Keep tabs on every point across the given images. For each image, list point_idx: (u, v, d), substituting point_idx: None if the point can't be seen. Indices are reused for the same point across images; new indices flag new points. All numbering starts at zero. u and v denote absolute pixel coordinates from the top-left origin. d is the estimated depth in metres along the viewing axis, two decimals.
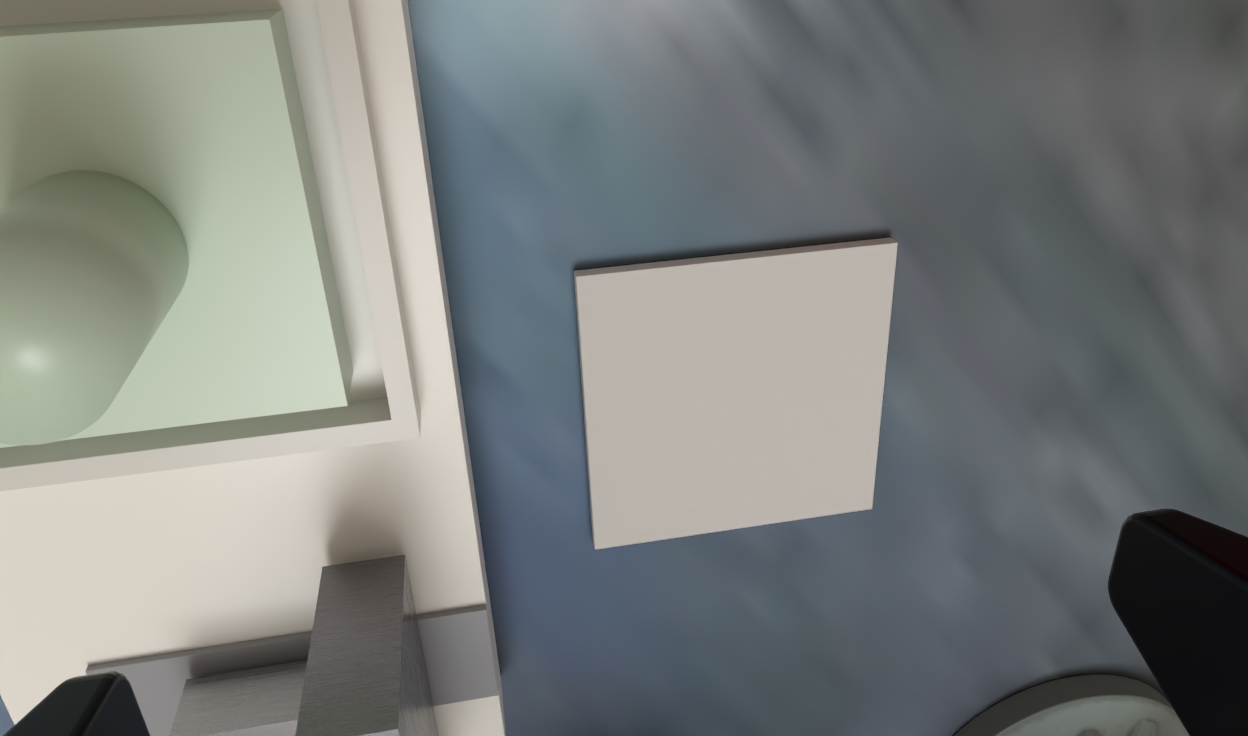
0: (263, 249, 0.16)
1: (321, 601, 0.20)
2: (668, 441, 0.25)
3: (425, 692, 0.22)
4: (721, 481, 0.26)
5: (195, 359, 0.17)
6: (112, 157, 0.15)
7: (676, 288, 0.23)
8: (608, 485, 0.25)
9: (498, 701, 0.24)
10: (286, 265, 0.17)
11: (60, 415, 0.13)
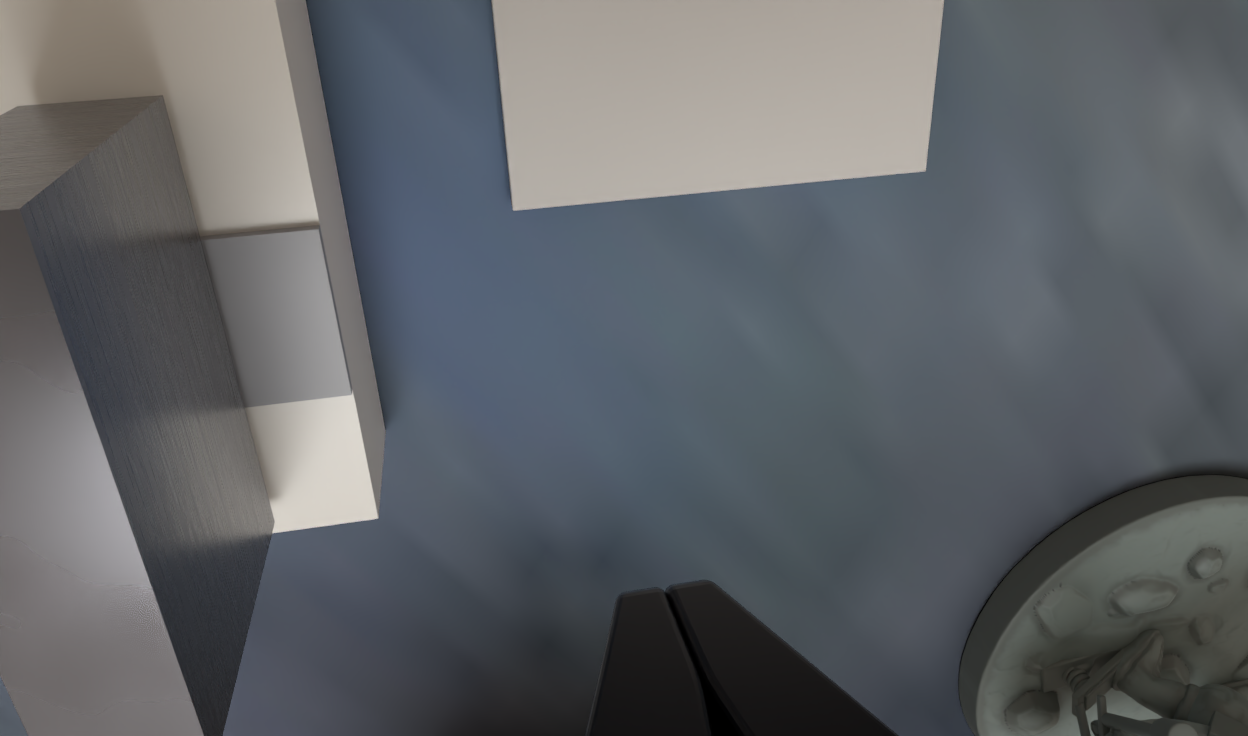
0: None
1: None
2: (619, 19, 0.16)
3: (211, 349, 0.13)
4: (703, 102, 0.17)
5: None
6: None
7: None
8: (529, 94, 0.16)
9: (355, 411, 0.16)
10: None
11: None
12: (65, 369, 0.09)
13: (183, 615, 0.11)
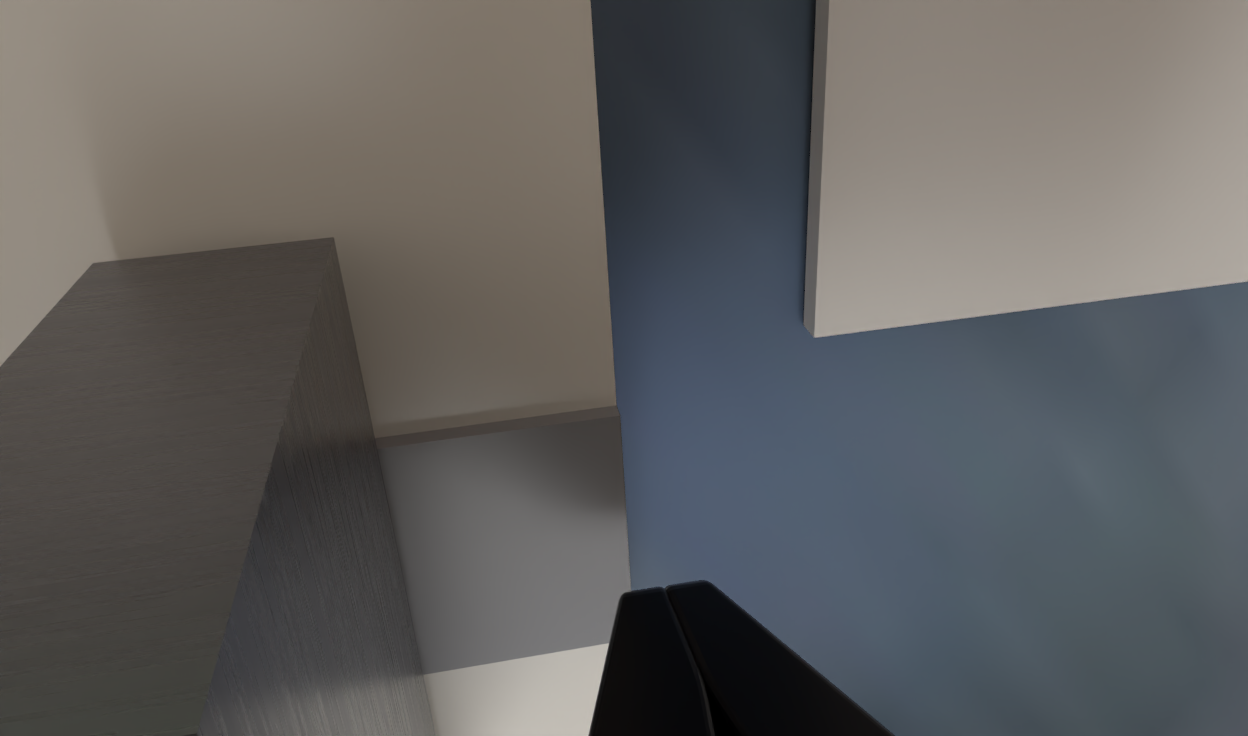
0: None
1: (51, 324, 0.06)
2: (998, 72, 0.11)
3: (399, 632, 0.08)
4: (1090, 184, 0.12)
5: None
6: None
7: None
8: (858, 180, 0.11)
9: None
10: None
11: None
12: None
13: None
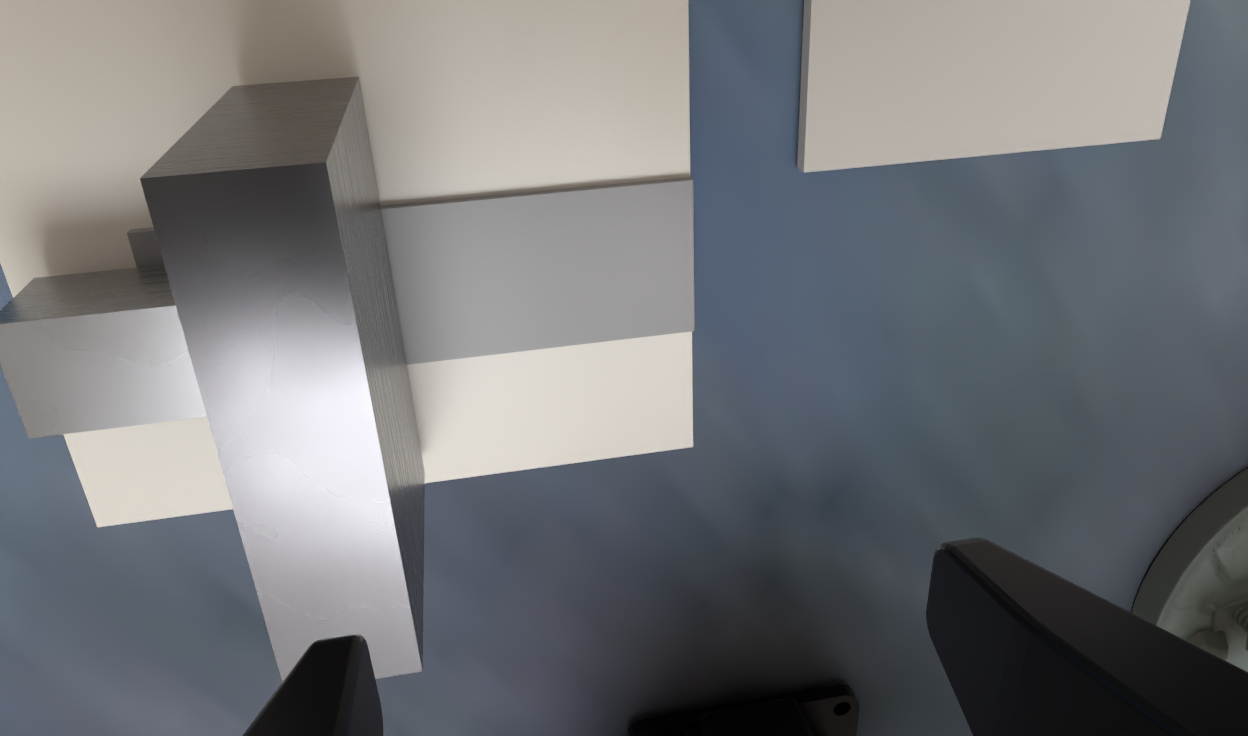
0: None
1: (223, 102, 0.13)
2: (917, 0, 0.18)
3: (391, 307, 0.15)
4: (978, 75, 0.19)
5: None
6: None
7: None
8: (831, 67, 0.18)
9: (690, 347, 0.18)
10: None
11: None
12: (344, 303, 0.10)
13: (401, 533, 0.12)
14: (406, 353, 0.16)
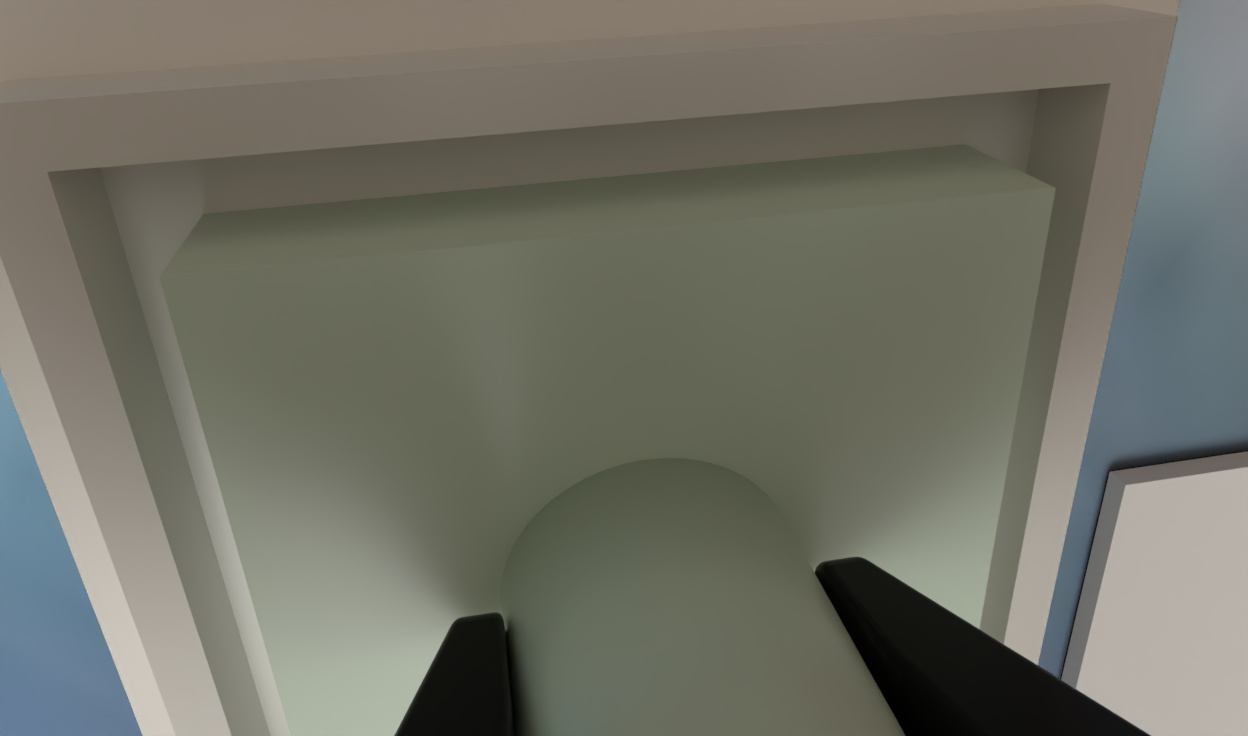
0: (910, 564, 0.09)
1: None
2: (1175, 686, 0.18)
3: None
4: (1225, 730, 0.18)
5: None
6: (717, 434, 0.08)
7: None
8: None
9: None
10: (937, 585, 0.10)
11: None
12: None
13: None
14: None
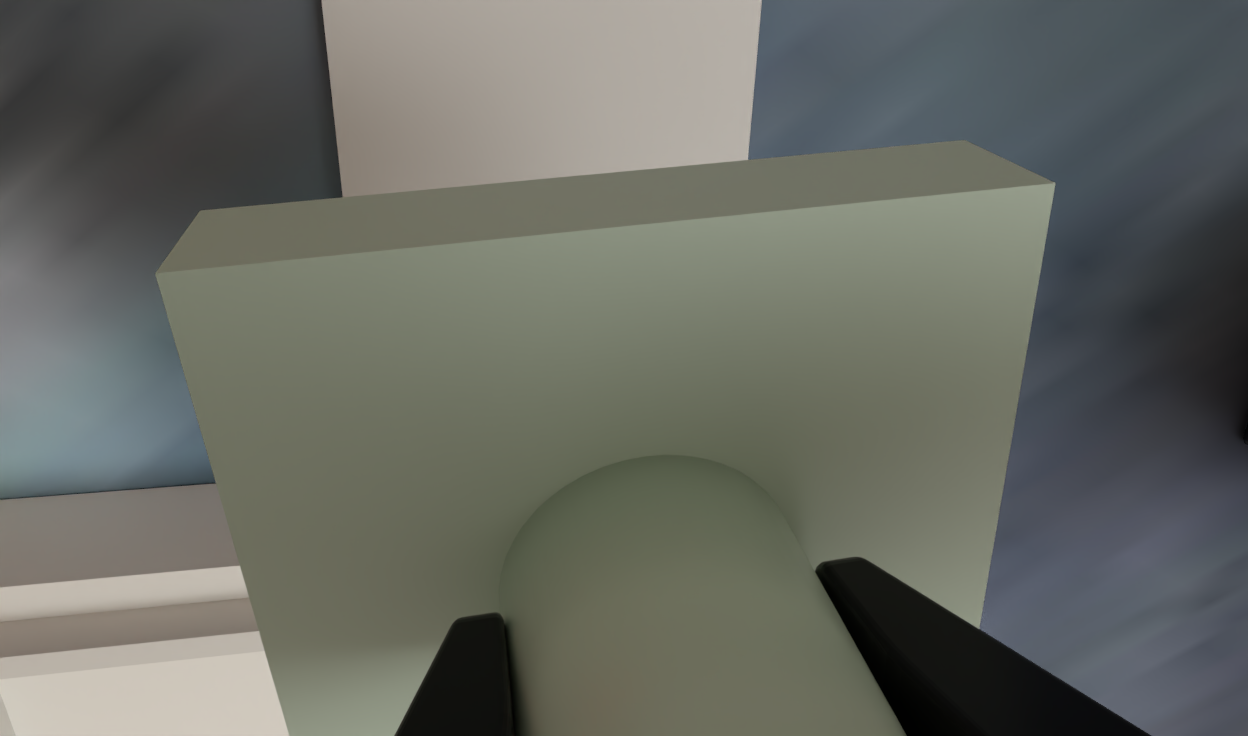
0: (910, 561, 0.09)
1: None
2: None
3: None
4: None
5: None
6: (715, 431, 0.08)
7: None
8: None
9: None
10: (937, 582, 0.10)
11: None
12: None
13: None
14: None
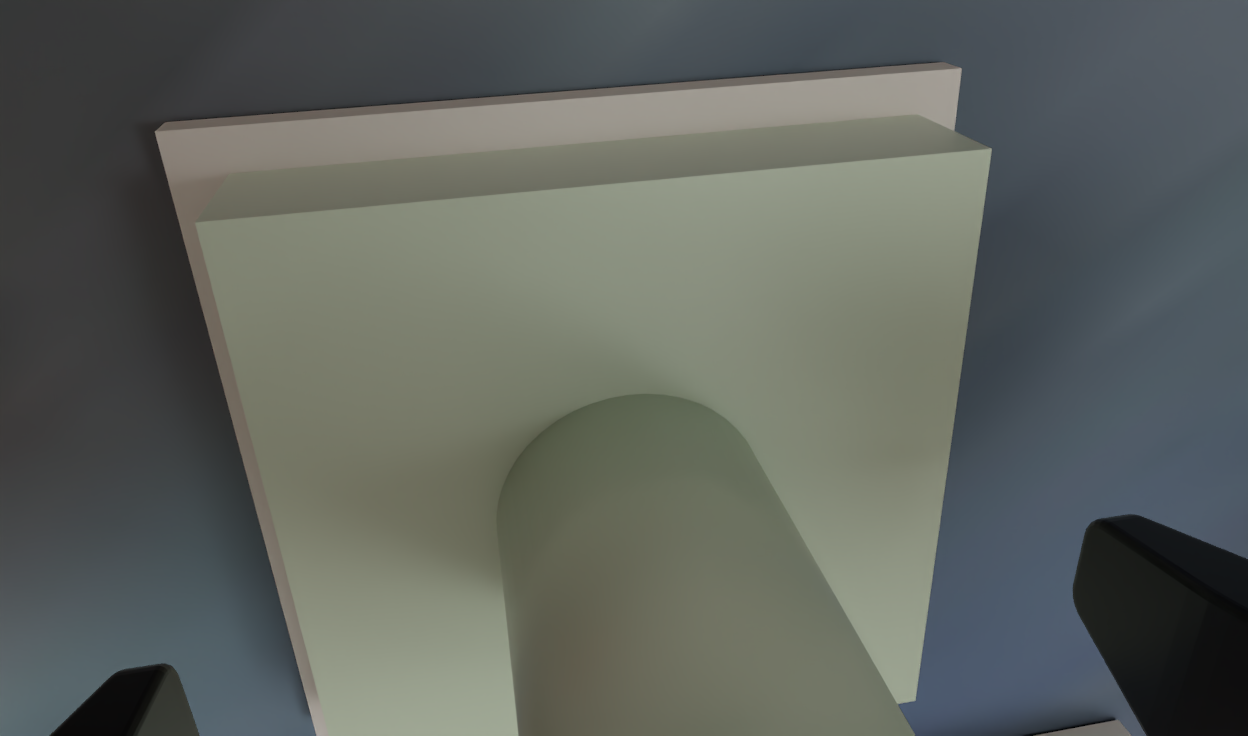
0: (869, 497, 0.10)
1: None
2: None
3: None
4: None
5: None
6: (691, 372, 0.09)
7: None
8: None
9: None
10: (895, 517, 0.10)
11: None
12: None
13: None
14: None
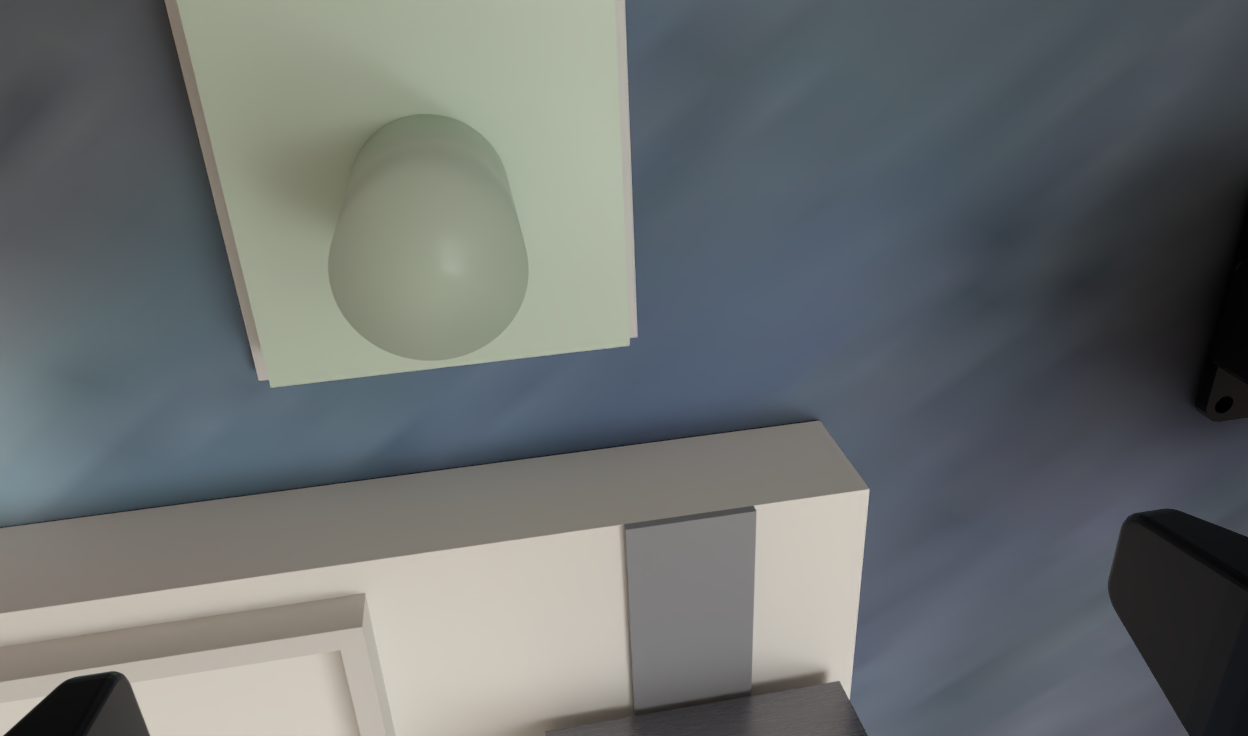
0: (575, 193, 0.17)
1: None
2: None
3: (699, 734, 0.21)
4: None
5: None
6: (455, 102, 0.16)
7: None
8: None
9: (772, 503, 0.20)
10: (594, 208, 0.18)
11: (465, 332, 0.14)
12: None
13: None
14: (742, 691, 0.22)
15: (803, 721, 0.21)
